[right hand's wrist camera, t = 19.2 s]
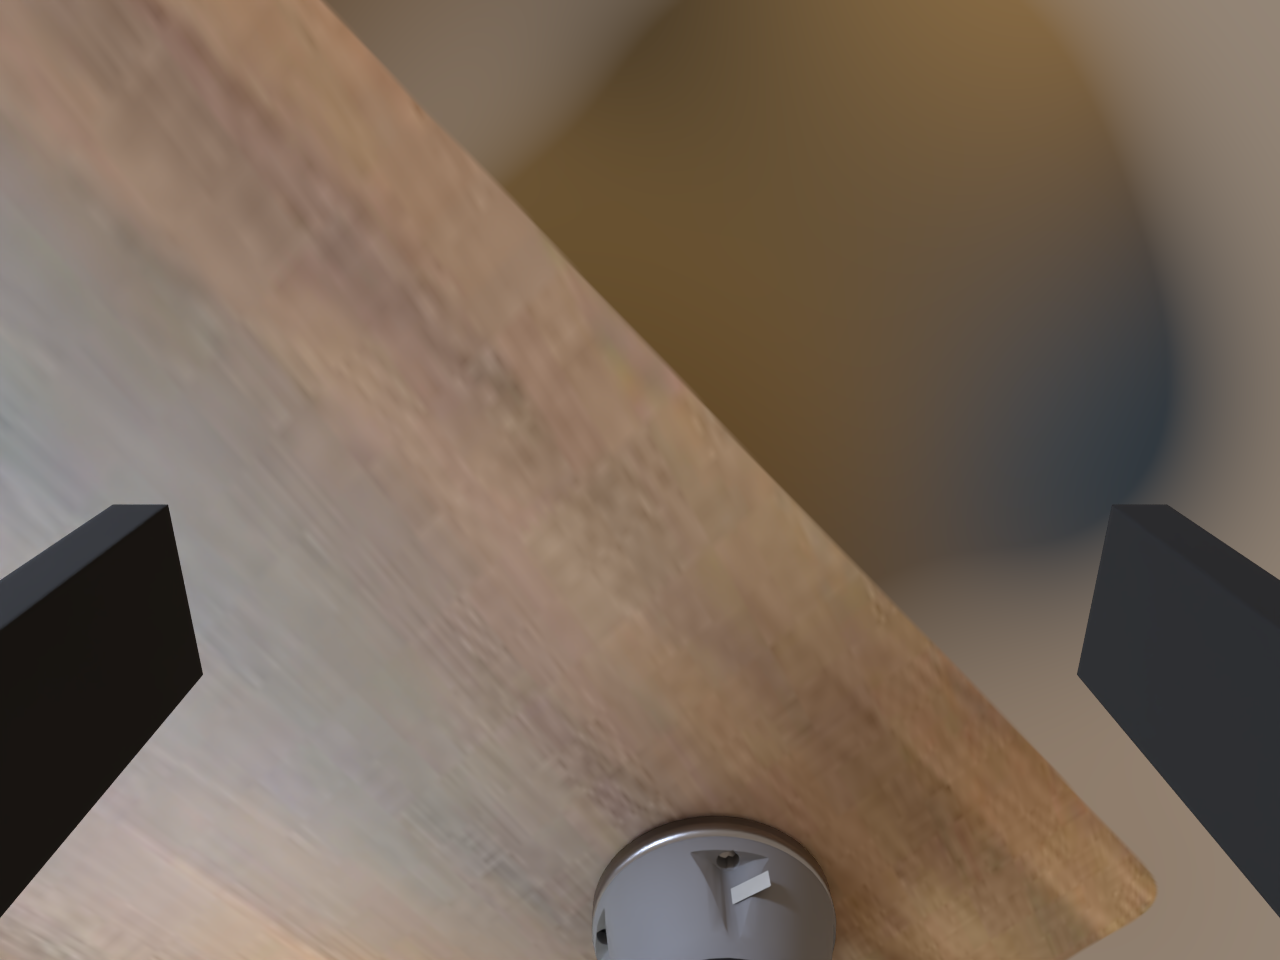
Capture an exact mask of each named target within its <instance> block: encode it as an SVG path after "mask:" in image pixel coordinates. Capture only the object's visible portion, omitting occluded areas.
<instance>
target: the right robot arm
mask: <svg viewBox="0 0 1280 960" xmlns="http://www.w3.org/2000/svg"><path fill="white" fill-rule="evenodd" d="M202 675H203V673H202V668H201V663H200V658H199V653H198V648H197V643H196V638H195V634H194V629H193V624H192V619H191V614H190V609H189V604H188V600H187V595H186V590H185V585H184V580H183V575H182V570H181V566H180V561H179V556H178V551H177V546H176V541H175V536H174V532H173V527H172V522H171V517H170V512H169V507H168V505H112V506H110V507H109V508H107V509H106V510H104V511H103V512H101V513H100V514H98V515H97V516H95V517H94V518H92V519H91V520H89V521H88V522H86V523H85V524H83V525H82V526H80V527H79V528H77V529H76V530H74V531H73V532H71V533H70V534H68V535H67V536H65V537H64V538H62V539H61V540H59V541H58V542H57V543H55V544H54V545H52V546H51V547H49V548H48V549H46V550H45V551H43V552H42V553H40V554H39V555H37V556H36V557H34V558H33V559H31V560H30V561H28V562H27V563H25V564H24V565H22V566H21V567H19V568H18V569H16V570H15V571H13V572H12V573H10V574H9V575H7V576H6V577H4V578H3V579H1V580H0V917H1V916H2V915H3V914H4V913H5V911H6V910H7V909H8V908H9V907H10V905H11V904H12V903H13V902H14V901H15V899H16V898H17V897H18V896H19V895H20V893H21V892H22V891H23V890H24V889H25V887H26V886H27V885H28V884H29V883H30V881H31V880H32V879H33V878H34V877H35V875H36V874H37V873H38V872H39V871H40V869H41V868H42V867H43V866H44V865H45V863H46V862H47V861H48V860H49V859H50V857H51V856H52V855H53V854H54V853H55V851H56V850H57V849H58V848H59V847H60V845H61V844H62V843H63V842H64V841H65V839H66V838H67V837H68V836H69V835H70V833H71V832H72V831H73V830H74V829H75V827H76V826H77V825H78V824H79V823H80V821H81V820H82V819H83V818H84V817H85V815H86V814H87V813H88V812H89V811H90V809H91V808H92V807H93V806H94V805H95V803H96V802H97V801H98V800H99V799H100V797H101V796H102V795H103V794H104V793H105V791H106V790H107V789H108V788H109V787H110V785H111V784H112V783H113V782H114V781H115V779H116V778H117V777H118V776H119V775H120V773H121V772H122V771H123V770H124V769H125V767H126V766H127V765H128V764H129V763H130V761H131V760H132V759H133V758H134V757H135V755H136V754H137V753H138V752H139V751H140V749H141V748H142V747H143V746H144V745H145V743H146V742H147V741H148V740H149V739H150V738H151V736H152V735H153V734H154V733H155V732H156V730H157V729H158V728H159V727H160V726H161V724H162V723H163V722H164V721H165V720H166V718H167V717H168V716H169V715H170V714H171V712H172V711H173V710H174V709H175V708H176V706H177V705H178V704H179V703H180V702H181V700H182V699H183V698H184V697H185V696H186V694H187V693H188V692H189V691H190V690H191V688H192V687H193V686H194V685H195V684H196V682H197V681H198V680H199V679H200V678H201V676H202ZM1077 675H1078V676H1079V678H1080V679H1081V680H1082V681H1083V682H1084V684H1085V685H1086V686H1087V687H1088V688H1089V690H1090V691H1091V692H1092V693H1093V694H1094V695H1095V697H1096V698H1097V699H1098V700H1099V702H1100V703H1101V704H1102V705H1103V706H1104V708H1105V709H1106V710H1107V711H1108V712H1109V714H1110V715H1111V716H1112V717H1113V718H1114V719H1115V721H1116V722H1117V723H1118V724H1119V726H1120V727H1121V728H1122V729H1123V730H1124V731H1125V733H1126V734H1127V735H1128V736H1129V738H1130V739H1131V740H1132V741H1133V742H1134V743H1135V745H1136V746H1137V747H1138V748H1139V749H1140V751H1141V752H1142V753H1143V754H1144V755H1145V757H1146V758H1147V759H1148V760H1149V761H1150V763H1151V764H1152V765H1153V766H1154V767H1155V769H1156V770H1157V771H1158V772H1159V773H1160V775H1161V776H1162V777H1163V778H1164V779H1165V781H1166V782H1167V783H1168V784H1169V785H1170V787H1171V788H1172V789H1173V790H1174V791H1175V793H1176V794H1177V795H1178V796H1179V797H1180V799H1181V800H1182V801H1183V802H1184V803H1185V805H1186V806H1187V807H1188V808H1189V809H1190V811H1191V812H1192V813H1193V814H1194V815H1195V817H1196V818H1197V819H1198V820H1199V821H1200V823H1201V824H1202V825H1203V826H1204V827H1205V829H1206V830H1207V831H1208V832H1209V833H1210V835H1211V836H1212V837H1213V838H1214V839H1215V841H1216V842H1217V843H1218V844H1219V845H1220V847H1221V848H1222V849H1223V850H1224V851H1225V853H1226V854H1227V855H1228V856H1229V857H1230V859H1231V860H1232V861H1233V862H1234V863H1235V865H1236V866H1237V867H1238V868H1239V869H1240V871H1241V872H1242V873H1243V874H1244V875H1245V877H1246V878H1247V879H1248V880H1249V881H1250V883H1251V884H1252V885H1253V886H1254V887H1255V889H1256V890H1257V891H1258V892H1259V893H1260V895H1261V896H1262V897H1263V898H1264V899H1265V901H1266V902H1267V903H1268V904H1269V905H1270V906H1271V908H1272V909H1273V910H1274V911H1275V913H1276V914H1277V915H1278V916H1279V917H1280V580H1279V579H1277V578H1276V577H1274V576H1273V575H1271V574H1270V573H1268V572H1267V571H1265V570H1264V569H1262V568H1261V567H1259V566H1258V565H1256V564H1255V563H1253V562H1252V561H1250V560H1249V559H1247V558H1246V557H1244V556H1243V555H1241V554H1240V553H1238V552H1237V551H1235V550H1234V549H1232V548H1231V547H1229V546H1228V545H1226V544H1225V543H1223V542H1222V541H1220V540H1219V539H1218V538H1216V537H1215V536H1213V535H1212V534H1210V533H1209V532H1207V531H1206V530H1204V529H1203V528H1201V527H1200V526H1198V525H1197V524H1195V523H1194V522H1192V521H1191V520H1189V519H1188V518H1186V517H1185V516H1183V515H1182V514H1180V513H1179V512H1177V511H1176V510H1174V509H1173V508H1171V507H1170V506H1168V505H1112V507H1111V512H1110V517H1109V522H1108V527H1107V532H1106V536H1105V541H1104V546H1103V551H1102V556H1101V561H1100V566H1099V570H1098V575H1097V580H1096V585H1095V590H1094V595H1093V600H1092V604H1091V609H1090V614H1089V619H1088V624H1087V629H1086V634H1085V638H1084V643H1083V648H1082V653H1081V658H1080V663H1079V668H1078V673H1077ZM835 938H836V916H835V910H834V906H833V902H832V898H831V894H830V890H829V886H828V883H827V880H826V878H825V875H824V873H823V871H822V869H821V867H820V866H819V864H818V863H817V861H816V860H815V859H814V858H813V856H812V855H811V854H810V853H809V852H808V851H807V850H806V849H805V848H804V847H803V846H802V845H801V844H799V843H798V842H797V841H795V840H794V839H793V838H791V837H789V836H788V835H786V834H784V833H783V832H781V831H779V830H777V829H775V828H772V827H770V826H767V825H764V824H762V823H758V822H755V821H751V820H746V819H741V818H734V817H723V816H709V817H697V818H689V819H684V820H679V821H676V822H672V823H669V824H666V825H663V826H660V827H658V828H655V829H653V830H651V831H649V832H647V833H645V834H643V835H642V836H640V837H638V838H637V839H635V840H634V841H632V842H631V843H630V844H628V845H627V846H626V847H625V848H623V849H622V850H621V851H620V852H619V853H618V854H617V855H616V856H615V857H614V858H613V860H612V861H611V862H610V863H609V865H608V866H607V868H606V869H605V871H604V872H603V874H602V876H601V878H600V880H599V883H598V885H597V888H596V892H595V896H594V902H593V917H592V939H593V945H594V949H595V954H596V957H597V960H832V953H833V949H834V945H835Z"/></svg>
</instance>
